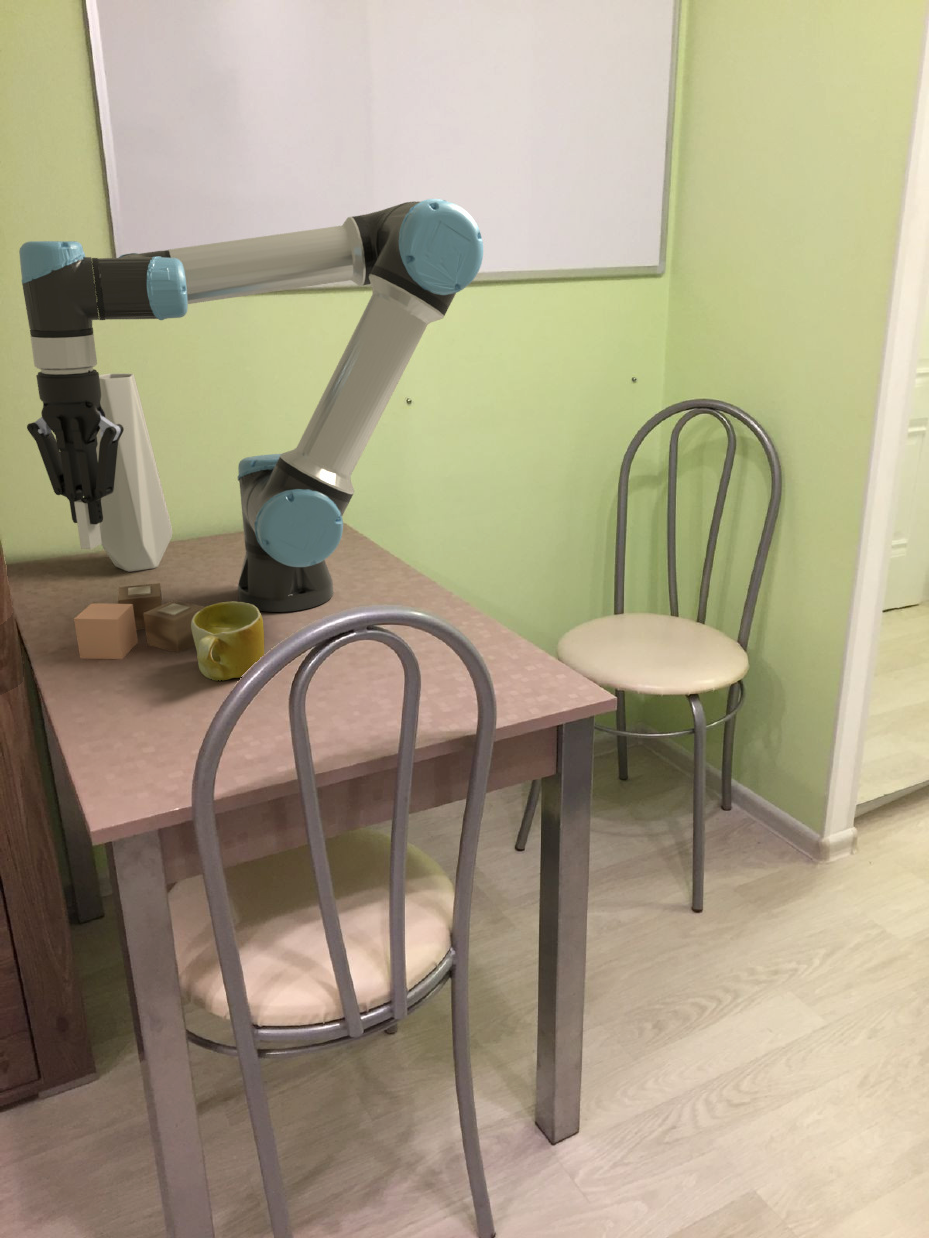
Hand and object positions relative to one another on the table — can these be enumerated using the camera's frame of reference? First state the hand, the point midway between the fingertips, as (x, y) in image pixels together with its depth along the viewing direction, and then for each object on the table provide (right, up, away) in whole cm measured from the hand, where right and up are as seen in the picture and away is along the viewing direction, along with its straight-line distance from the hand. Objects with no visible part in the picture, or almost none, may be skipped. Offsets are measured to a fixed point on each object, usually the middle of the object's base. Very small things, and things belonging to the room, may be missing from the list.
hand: (91, 546), depth 138 cm
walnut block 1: (+2, -10, +16) cm, 19 cm away
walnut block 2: (+9, -13, +9) cm, 18 cm away
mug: (+19, -18, -2) cm, 26 cm away
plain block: (0, -14, +6) cm, 16 cm away
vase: (-7, 0, +42) cm, 42 cm away
